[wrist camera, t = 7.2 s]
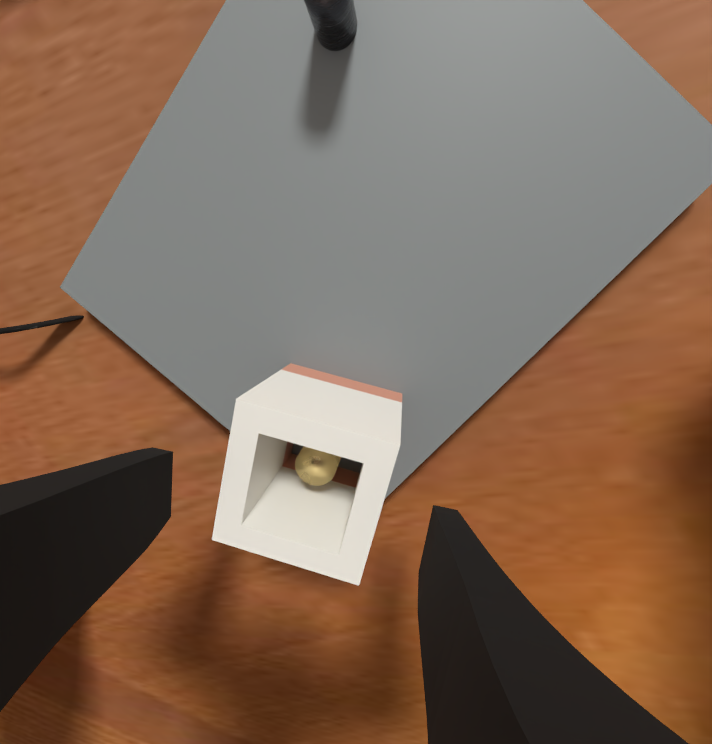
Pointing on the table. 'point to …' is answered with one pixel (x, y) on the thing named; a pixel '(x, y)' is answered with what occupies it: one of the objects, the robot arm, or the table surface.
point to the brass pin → (316, 466)
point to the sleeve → (284, 486)
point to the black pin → (333, 22)
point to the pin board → (388, 201)
